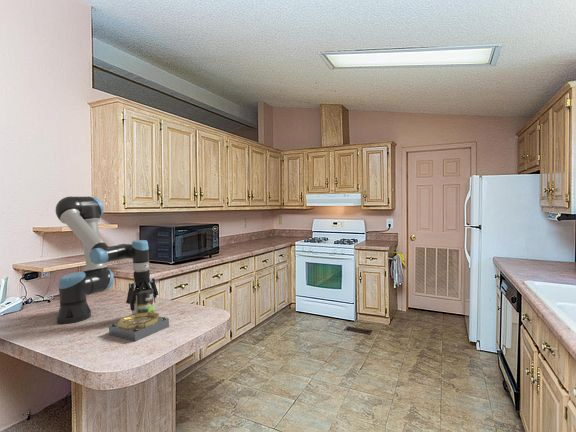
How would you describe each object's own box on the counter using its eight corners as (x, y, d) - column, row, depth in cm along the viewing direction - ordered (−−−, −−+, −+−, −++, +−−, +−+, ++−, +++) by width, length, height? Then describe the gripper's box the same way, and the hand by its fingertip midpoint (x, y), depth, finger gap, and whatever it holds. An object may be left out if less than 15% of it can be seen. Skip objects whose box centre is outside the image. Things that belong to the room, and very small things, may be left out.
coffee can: (158, 314, 172) (157, 288, 172) (146, 321, 162) (145, 293, 162) (141, 313, 174) (140, 287, 174) (128, 320, 164) (127, 292, 164)
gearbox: (109, 334, 146) (108, 321, 146) (143, 321, 162) (143, 309, 162) (135, 341, 138) (134, 327, 138) (169, 326, 154) (168, 314, 153)
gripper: (126, 275, 156) (128, 321, 156) (164, 266, 175) (166, 307, 176) (116, 274, 159) (118, 319, 160) (154, 265, 179) (156, 305, 180)
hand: (143, 313), depth 168 cm, fingers closed on coffee can, 10 cm apart
